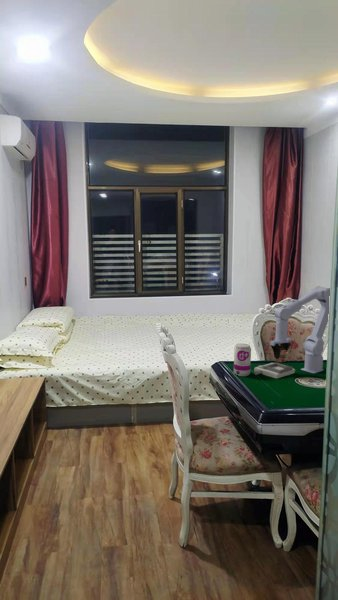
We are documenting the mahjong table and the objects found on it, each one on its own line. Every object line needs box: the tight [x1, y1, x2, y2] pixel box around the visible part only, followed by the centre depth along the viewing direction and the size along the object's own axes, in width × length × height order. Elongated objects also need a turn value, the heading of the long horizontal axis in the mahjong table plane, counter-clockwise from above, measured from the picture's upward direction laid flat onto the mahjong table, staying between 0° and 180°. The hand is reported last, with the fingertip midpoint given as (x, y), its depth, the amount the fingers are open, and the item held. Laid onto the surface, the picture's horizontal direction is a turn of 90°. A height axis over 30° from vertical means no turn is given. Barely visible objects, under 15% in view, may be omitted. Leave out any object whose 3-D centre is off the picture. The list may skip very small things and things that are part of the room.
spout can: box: [274, 348, 289, 363], centre depth 214 cm, size 5×6×6 cm
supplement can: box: [233, 343, 252, 377], centre depth 213 cm, size 8×8×15 cm
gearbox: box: [253, 361, 296, 379], centre depth 216 cm, size 19×14×4 cm
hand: (280, 357), depth 215 cm, fingers closed on spout can, 5 cm apart
